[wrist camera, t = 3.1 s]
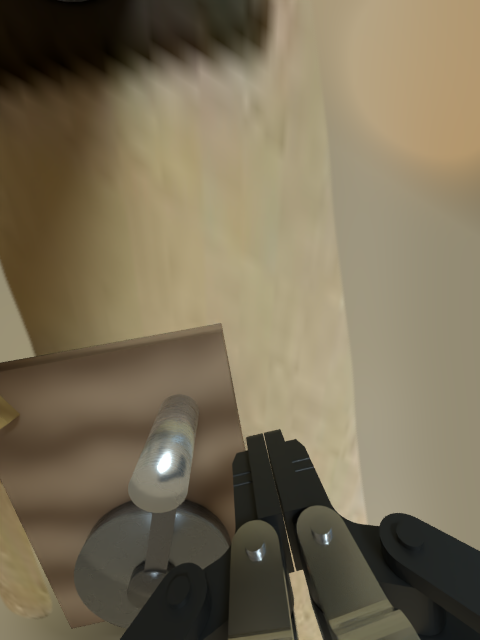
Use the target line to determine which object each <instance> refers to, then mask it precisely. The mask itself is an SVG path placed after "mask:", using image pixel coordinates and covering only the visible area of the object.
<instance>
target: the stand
mask: <svg viewBox="0 0 480 640" xmlns="http://www.w3.org/2000/svg"><path fill="white" fill-rule="evenodd" d="M177 394H181V395H186V396H189V397H190V398H192V399H193V400H194V401H195V402H196V403H197V405H198V408H199V416H198V423H197V430H196V437H195V444H194V451H193V458H192V465H191V472H190V479H189V486H188V493H187V496H186V498H185V499H186V500H190V501H192V502H195V503H197V504H199V505H201V506H203V507H205V508H207V509H208V510H210V511H211V512H212V513H214V514H215V515H216V516H217V517H218V518H219V519H220V520H221V522H222V523H223V524H224V526H225V528H226V529H227V531H228V534H229V536H230V540H231V543H232V540H233V537H234V535H235V508H234V490H233V487H234V486H233V471H232V463H233V460H234V458H235V455H236V453H239V452H243V451H245V446H244V441H243V436H242V431H241V425H240V420H239V415H238V409H237V404H236V399H235V393H234V388H233V383H232V377H231V372H230V367H229V362H228V356H227V351H226V346H225V340H224V335H223V330H222V324H215V325H209V326H204V327H198V328H193V329H187V330H181V331H176V332H170V333H165V334H159V335H153V336H148V337H142V338H137V339H131V340H125V341H120V342H114V343H109V344H103V345H97V346H92V347H86V348H81V349H75V350H69V351H64V352H58V353H52V354H47V355H41V356H36V357H30V358H25V359H19V360H14V361H8V362H2V363H0V480H1V482H2V484H3V486H4V488H5V490H6V492H7V494H8V496H9V499H10V501H11V503H12V505H13V507H14V509H15V511H16V513H17V515H18V517H19V520H20V522H21V524H22V526H23V528H24V530H25V532H26V534H27V536H28V538H29V541H30V543H31V545H32V547H33V549H34V551H35V553H36V555H37V557H38V560H39V562H40V564H41V566H42V568H43V570H44V572H45V574H46V576H47V578H48V580H49V582H50V585H51V587H52V589H53V591H54V593H55V595H56V597H57V599H58V601H59V604H60V606H61V608H62V610H63V612H64V614H65V616H66V618H67V620H68V622H69V625H70V627H71V628H76V627H81V626H86V625H91V624H95V623H100V622H104V621H105V620H103V619H101V618H100V617H98V616H97V615H95V614H94V613H93V612H92V611H90V610H89V609H88V608H87V607H86V605H85V604H84V603H83V602H82V600H81V598H80V597H79V595H78V593H77V590H76V587H75V583H74V569H75V564H76V561H77V558H78V556H79V554H80V552H81V550H82V547H83V545H84V543H85V541H86V539H87V537H88V535H89V533H90V531H91V530H92V528H93V527H94V525H95V524H96V523H97V522H98V521H99V520H100V519H101V518H102V517H103V516H104V515H105V514H106V513H108V512H109V511H110V510H112V509H114V508H116V507H117V506H119V505H121V504H124V503H126V502H129V501H132V500H131V498H130V496H129V493H128V486H129V482H130V479H131V477H132V475H133V472H134V470H135V467H136V465H137V462H138V460H139V458H140V455H141V453H142V450H143V448H144V446H145V443H146V441H147V438H148V436H149V433H150V431H151V429H152V426H153V424H154V421H155V419H156V416H157V414H158V412H159V409H160V407H161V405H162V403H163V401H164V400H165V399H167V398H168V397H170V396H172V395H177Z"/></svg>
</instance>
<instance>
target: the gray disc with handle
mask: <svg viewBox="0 0 480 640" xmlns="http://www.w3.org/2000/svg"><path fill="white" fill-rule="evenodd" d="M198 416H199V408H198V405H197V403H196V402H195V401H194V400H193V399H192V398H190V397H189V396H186V395H181V394H177V395H172V396H170V397H168V398H167V399H165V400H164V401H163V403H162V405H161V407H160V409H159V412H158V414H157V416H156V419H155V421H154V424H153V426H152V429H151V431H150V433H149V436H148V438H147V441H146V443H145V446H144V448H143V450H142V453H141V455H140V458H139V460H138V462H137V465H136V467H135V470H134V472H133V475H132V477H131V479H130V482H129V486H128V493H129V496H130V498H131V500H132V501H129V502H126V503H124V504H121V505H119V506H117V507H116V508H114V509H112V510H110V511H109V512H108V513H106V514H105V515H104V516H103V517H102V518H101V519H100V520H99V521H98V522H97V523H96V524H95V525H94V527H93V528H92V530H91V531H90V533H89V535H88V537H87V539H86V541H85V543H84V545H83V547H82V550H81V552H80V554H79V556H78V558H77V561H76V564H75V569H74V583H75V587H76V590H77V593H78V595H79V597H80V598H81V600H82V602H83V603H84V604H85V605H86V607H87V608H88V609H89V610H90V611H92V612H93V613H94V614H95V615H97V616H98V617H100V618H101V619H103V620H105V621H107V622H109V623H111V624H114V625H117V626H119V627H123V628H127V629H128V627H129V626H130V625H131V623H132V622H133V620H134V619H135V618H136V616H137V615H138V613H139V612H140V611H141V609H142V608H143V606H144V605H145V604H146V602H147V601H148V599H149V598H150V596H151V595H152V594H153V592H154V591H155V589H156V588H157V587H158V585H159V584H160V582H161V581H162V580H163V578H164V577H165V576H166V575H167V574H168V573H169V572H170V571H171V570H172V569H173V568H175V567H176V566H178V565H180V564H183V563H194V564H196V565H198V566H199V567H200V568H201V569H202V570H203V569H204V568H206V567H207V566H209V565H210V564H212V563H213V562H215V561H216V560H218V559H219V558H220V557H221V556H222V555H223V554H224V553H225V552H226V551H227V550H228V548H229V547H230V545H231V540H230V536H229V534H228V531H227V529H226V528H225V526H224V524H223V523H222V522H221V520H220V519H219V518H218V517H217V516H216V515H215V514H214V513H212V512H211V511H210V510H208V509H207V508H205V507H203V506H201V505H199V504H197V503H195V502H192V501H190V500H186V499H185V498H186V496H187V493H188V486H189V479H190V472H191V465H192V458H193V451H194V444H195V437H196V430H197V423H198Z"/></svg>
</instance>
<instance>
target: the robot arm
mask: <svg viewBox="0 0 480 640" xmlns="http://www.w3.org/2000/svg"><path fill="white" fill-rule="evenodd" d="M59 1H63V2H83V1H87V0H59ZM264 436H265V441H266V445H267V449H266V445H265V441H264V437H263V433H262V434H257V435H253V436H249V437H246V439H247V446H248V450H247V451H243V452H239V453H236V455H235V458H234V460H233V463H232V471H233V486H234V487H233V490H234V508H235V535H234V537H233V540H232V543H231V545H230V547H229V548H228V550H227V551H226V552H225V553H224V554H223V555H222V556H221V557H220V558H219V559H218V560H216V561H215V562H213V563H212V564H210V565H209V566H207V567H206V568H204V569H203V570H202V569H201V568H200V567H199V566H198V565H196V564H194V563H183V564H180V565H178V566H176V567H175V568H173V569H172V570H171V571H170V572H169V573H168V574H167V575H166V576H165V577H164V578H163V580H162V581H161V582H160V584H159V585H158V587H157V588H156V589H155V591H154V592H153V594H152V595H151V596H150V598H149V599H148V601H147V602H146V604H145V605H144V606H143V608H142V609H141V611H140V612H139V613H138V615H137V616H136V618H135V619H134V620H133V622H132V623H131V625H130V626H129V627H128V629H127V630H126V632H125V633H124V635H123V636H122V637H121V639H120V640H299V638H298V631H297V625H296V618H295V612H294V597H293V591H292V587H291V582H290V577H289V573H291V572H294V567H293V562H292V557H291V553H290V548H289V543H288V538H289V542H290V546H291V550H292V554H293V559H294V563H295V567H296V571H299V570H303V571H304V574H305V578H306V582H307V586H308V590H309V595H310V600H311V604H312V607H313V610H314V613H315V616H316V619H317V622H318V625H319V628H320V631H321V635H322V638H323V640H480V551H478V550H476V549H474V548H472V547H470V546H469V545H467V544H465V543H463V542H461V541H459V540H457V539H456V538H454V537H452V536H450V535H448V534H446V533H444V532H442V531H440V530H438V529H437V528H435V527H433V526H431V525H429V524H427V523H425V522H423V521H421V520H419V519H418V518H415V517H413V516H411V515H407V514H403V513H394V514H390V515H388V516H386V517H385V518H384V519H383V520H382V521H381V523H380V526H371V525H363V524H357V523H354V522H351V521H349V520H347V519H345V518H344V517H342V516H341V515H340V514H338V513H337V512H336V511H335V509H334V508H333V507H332V505H331V503H330V501H329V499H328V496H327V494H326V492H325V490H324V488H323V486H322V483H321V481H320V479H319V477H318V475H317V473H316V470H315V468H314V466H313V464H312V462H311V460H310V458H309V455H308V453H307V451H306V449H305V447H304V446H303V445H302V444H301V443H300V442H298V441H297V440H296V439H294V440H290V441H286V442H285V441H284V438H283V435H282V432H281V430H280V429H279V430H274V431H270V432H266V433H264ZM267 450H268V453H267ZM268 455H269V458H268ZM269 460H270V462H269ZM270 464H271V466H270ZM271 469H272V470H271ZM272 473H273V474H272ZM273 477H274V478H273ZM274 481H275V482H274ZM275 485H276V486H275ZM282 514H283V515H282ZM283 518H284V520H283ZM284 522H285V524H284ZM285 526H286V529H285ZM286 530H287V534H288V538H287V534H286Z"/></svg>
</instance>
